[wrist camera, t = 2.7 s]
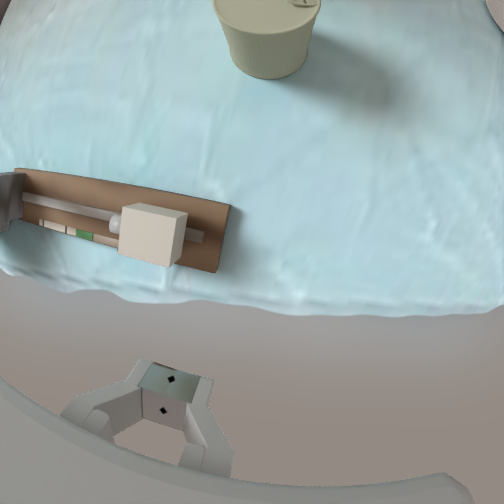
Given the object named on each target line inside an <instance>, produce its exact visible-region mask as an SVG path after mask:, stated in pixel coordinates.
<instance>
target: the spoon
mask: <svg viewBox="0 0 504 504" xmlns="http://www.w3.org/2000/svg"><path fill="white" fill-rule="evenodd" d="M485 1H486V5H487V7H488V10H489V12H490V14H491V16H492V17H493V19H494V20H495V22H496V23H497V25H498V26H499V27H500V29H501V30H502V31H503V32H504V1H503V0H485Z"/></svg>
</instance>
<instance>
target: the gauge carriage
mask: <svg viewBox="0 0 504 504" xmlns="http://www.w3.org/2000/svg"><path fill="white" fill-rule="evenodd" d="M187 217H188V213H186V212H181V211H177V210H172V209H167V208H162V207H158V206H153V205H148V204H143V203H136V204H132V205H128V206H124V207H122V215H121V216H119V215H113V216H112V218H111V220H110V223H109V230H110V232H112V233H116V234H119V246H118V254H121V255H124V256H128V257H132V258H135V259H139V260H143V261H146V262H150V263H154V264H157V265H161V266H165V267H170V266H171V265H172V264H174V263H175V262H176V261H177V260H178V259H179V258H180V257H181V253H182V247H183V241H184V235H185V229H186V223H187Z"/></svg>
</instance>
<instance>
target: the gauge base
mask: <svg viewBox="0 0 504 504" xmlns="http://www.w3.org/2000/svg"><path fill="white" fill-rule="evenodd" d="M136 203H143V204H148V205H153V206H158V207H162V208H167V209H172V210H177V211H181V212H186V213H188V217H187V223H186V229H185V235H184V241H183V247H182V253H181V257H180V258H179V259H178V260H177V261H176V262H175V264H179V265H183V266H187V267H191V268H195V269H199V270H203V271H207V272H211V273H216V271H217V268H218V263H219V258H220V253H221V248H222V243H223V238H224V234H225V229H226V224H227V219H228V214H229V210H230V204H226V203H221V202H216V201H212V200H207V199H202V198H198V197H193V196H188V195H183V194H178V193H173V192H168V191H163V190H158V189H152V188H147V187H142V186H136V185H131V184H125V183H119V182H113V181H108V180H102V179H95V178H89V177H83V176H76V175H70V174H63V173H56V172H49V171H42V170H34V169H26V168H15V169H14V172H6V173H0V224H1V223H5V222H8V221H12V220H15V219H20V220H23V221H26V222H29V223H33V224H36V225H39V226H42V227H46V228H49V229H52V230H56V231H59V232H62V233H66V234H69V235H73V236H76V237H80V238H83V239H86V240H90V241H94V242H97V243H101V244H104V245H108V246H111V247H115V248H118V246H119V234H116V233H112V232H110V230H109V223H110V220H111V218H112V216H113V215H119V216H121V215H122V207H124V206H128V205H132V204H136Z"/></svg>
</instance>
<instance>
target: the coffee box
mask: <svg viewBox="0 0 504 504" xmlns="http://www.w3.org/2000/svg"><path fill="white" fill-rule="evenodd" d="M9 229H10V221H8V222H5V223H1V224H0V232H3V231H6V230H9Z"/></svg>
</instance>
